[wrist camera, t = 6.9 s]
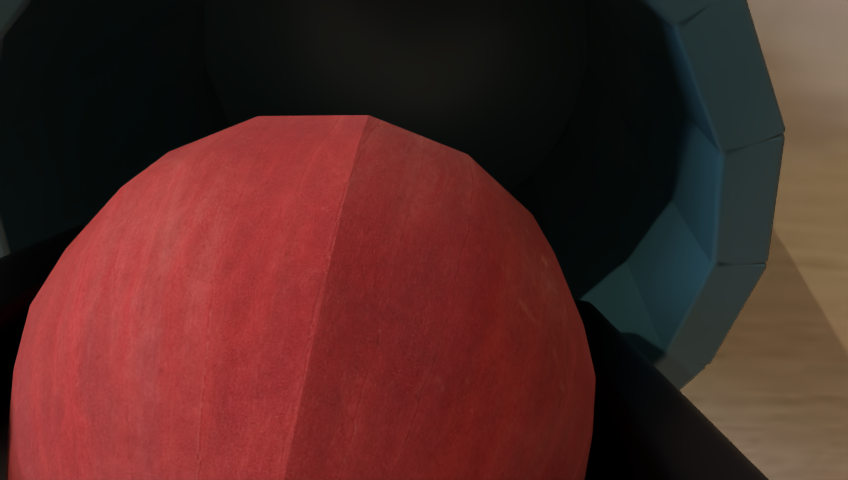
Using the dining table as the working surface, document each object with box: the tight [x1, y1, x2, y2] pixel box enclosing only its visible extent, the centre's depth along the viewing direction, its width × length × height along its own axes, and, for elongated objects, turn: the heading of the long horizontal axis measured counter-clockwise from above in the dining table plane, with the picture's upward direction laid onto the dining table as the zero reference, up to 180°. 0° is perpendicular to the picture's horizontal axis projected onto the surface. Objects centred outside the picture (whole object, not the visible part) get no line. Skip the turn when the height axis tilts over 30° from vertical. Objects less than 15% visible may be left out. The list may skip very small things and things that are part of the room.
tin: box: [0, 0, 785, 390], centre depth 13 cm, size 12×12×10 cm
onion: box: [6, 115, 596, 480], centre depth 7 cm, size 6×6×8 cm
